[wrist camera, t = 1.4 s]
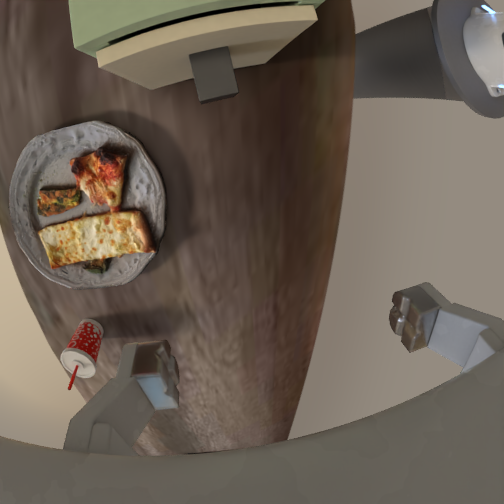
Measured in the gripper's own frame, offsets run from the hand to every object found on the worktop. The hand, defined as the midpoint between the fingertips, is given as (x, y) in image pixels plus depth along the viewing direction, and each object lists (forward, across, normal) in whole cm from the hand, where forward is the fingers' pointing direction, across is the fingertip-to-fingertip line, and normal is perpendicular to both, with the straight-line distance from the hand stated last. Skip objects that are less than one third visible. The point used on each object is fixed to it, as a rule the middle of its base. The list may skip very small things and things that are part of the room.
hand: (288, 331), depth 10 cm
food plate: (+31, +20, +1) cm, 37 cm away
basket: (+29, +1, -17) cm, 33 cm away
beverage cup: (+31, +28, +22) cm, 47 cm away
